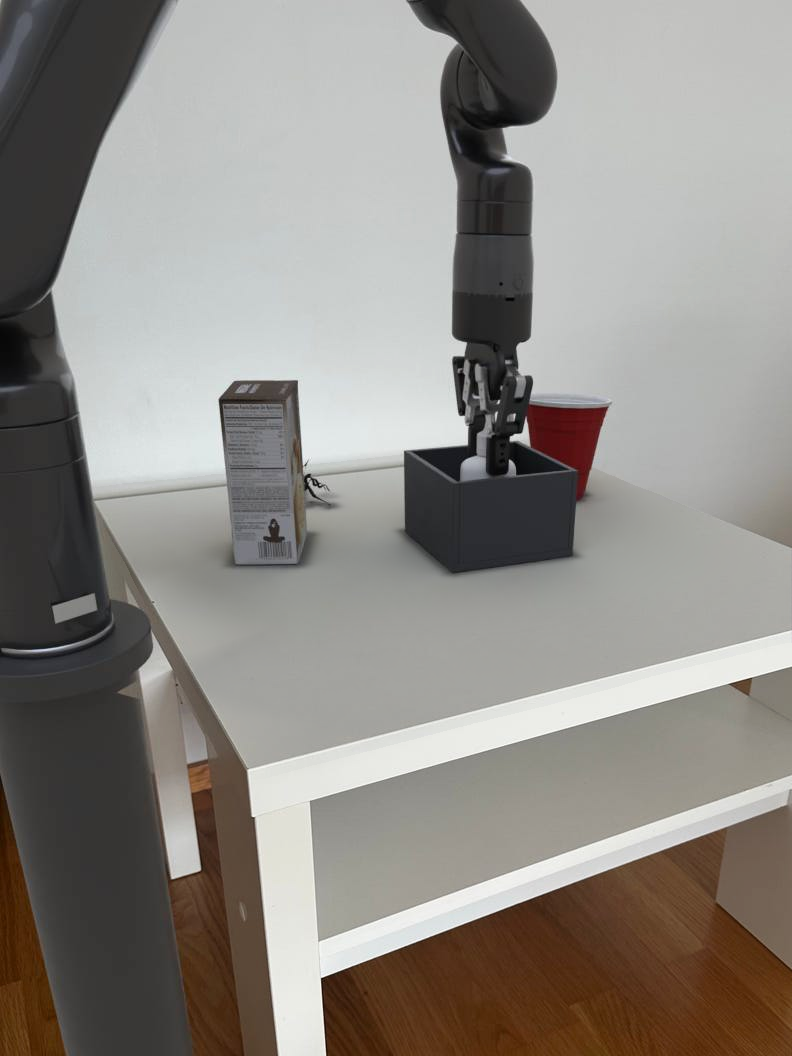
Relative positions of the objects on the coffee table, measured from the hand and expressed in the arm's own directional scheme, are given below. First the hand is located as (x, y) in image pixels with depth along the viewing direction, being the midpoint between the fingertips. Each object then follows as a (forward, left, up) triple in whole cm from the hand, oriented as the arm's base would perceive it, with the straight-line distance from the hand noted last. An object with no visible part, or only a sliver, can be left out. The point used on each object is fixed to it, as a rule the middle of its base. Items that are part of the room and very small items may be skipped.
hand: (487, 467), depth 94 cm
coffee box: (-21, +6, -8) cm, 23 cm away
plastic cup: (+16, +13, -8) cm, 22 cm away
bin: (0, 0, -8) cm, 8 cm away
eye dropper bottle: (0, 0, -7) cm, 7 cm away
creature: (-14, +21, -8) cm, 27 cm away
